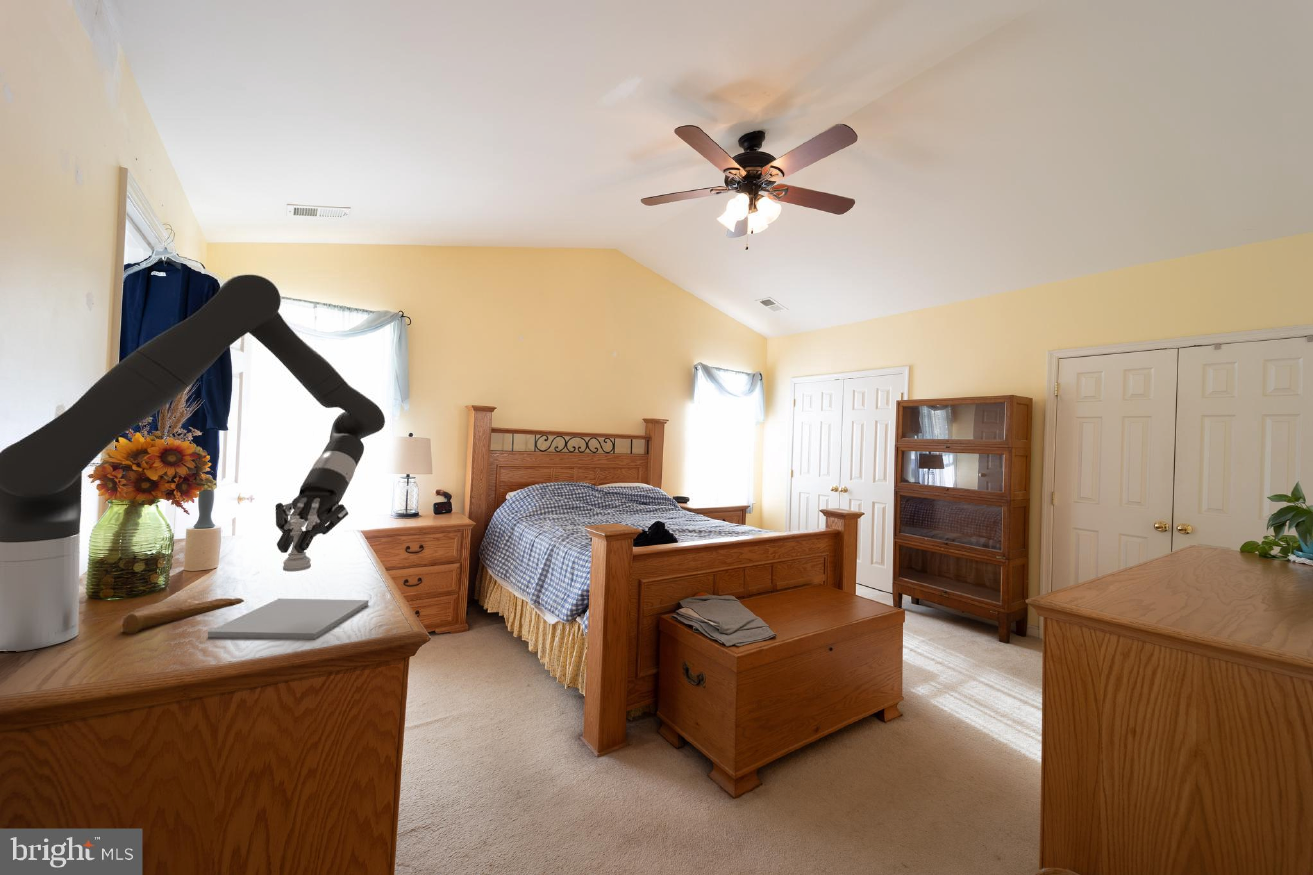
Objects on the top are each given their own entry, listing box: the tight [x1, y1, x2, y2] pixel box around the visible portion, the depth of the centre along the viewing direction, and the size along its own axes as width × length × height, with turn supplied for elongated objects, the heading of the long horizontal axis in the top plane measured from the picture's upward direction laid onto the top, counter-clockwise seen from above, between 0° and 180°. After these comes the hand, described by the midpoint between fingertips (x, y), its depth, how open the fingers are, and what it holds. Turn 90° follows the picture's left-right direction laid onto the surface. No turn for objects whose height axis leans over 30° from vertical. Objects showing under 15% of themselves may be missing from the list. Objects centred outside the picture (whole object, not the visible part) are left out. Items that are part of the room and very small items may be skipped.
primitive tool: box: [121, 597, 245, 634], centre depth 102 cm, size 19×6×4 cm, turn 170°
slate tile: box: [207, 598, 369, 640], centre depth 101 cm, size 18×18×1 cm
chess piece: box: [282, 516, 312, 573], centre depth 101 cm, size 4×4×10 cm
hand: (290, 550), depth 99 cm, fingers closed on chess piece, 2 cm apart
